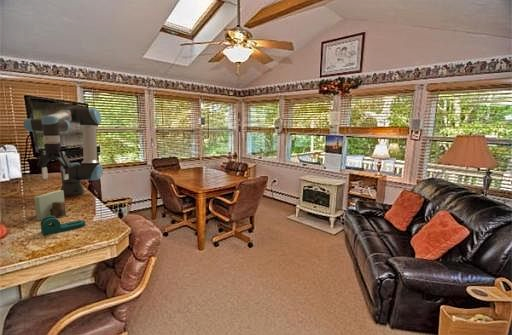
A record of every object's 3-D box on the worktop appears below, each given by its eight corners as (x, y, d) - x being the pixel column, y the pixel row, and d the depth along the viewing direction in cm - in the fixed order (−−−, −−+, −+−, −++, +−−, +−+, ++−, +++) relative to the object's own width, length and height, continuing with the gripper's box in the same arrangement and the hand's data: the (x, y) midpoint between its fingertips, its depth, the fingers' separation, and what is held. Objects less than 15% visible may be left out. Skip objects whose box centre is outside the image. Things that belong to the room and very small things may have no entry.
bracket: (44, 236, 125) (42, 220, 124) (41, 232, 130) (39, 217, 129) (87, 226, 139) (86, 212, 137) (83, 223, 143) (82, 209, 142)
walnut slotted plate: (37, 214, 153) (35, 201, 152) (41, 213, 155) (39, 200, 154) (62, 216, 151) (60, 203, 150) (65, 215, 154) (64, 202, 152)
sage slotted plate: (41, 220, 145) (39, 197, 143) (36, 219, 146) (34, 197, 144) (65, 210, 161) (63, 190, 159) (60, 210, 161) (58, 190, 159)
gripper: (26, 142, 149) (30, 179, 153) (66, 144, 147) (69, 181, 150) (38, 141, 157) (42, 176, 160) (77, 143, 154) (80, 178, 157)
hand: (55, 178), depth 155 cm, fingers open, 13 cm apart
